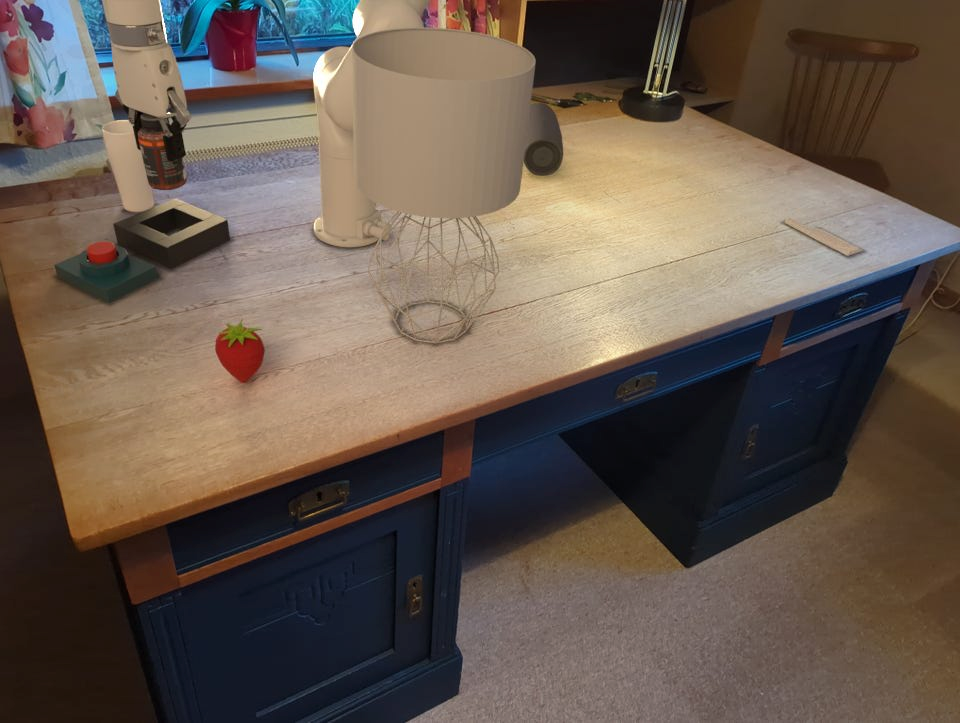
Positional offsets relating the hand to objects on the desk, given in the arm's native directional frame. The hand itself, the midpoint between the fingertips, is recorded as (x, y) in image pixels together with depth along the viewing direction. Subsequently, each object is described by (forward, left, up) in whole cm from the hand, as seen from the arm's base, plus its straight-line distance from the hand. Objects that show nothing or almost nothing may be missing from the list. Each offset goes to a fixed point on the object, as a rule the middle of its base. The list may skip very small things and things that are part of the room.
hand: (161, 152), depth 120 cm
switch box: (-1, +14, -16) cm, 22 cm away
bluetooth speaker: (-31, -75, -16) cm, 82 cm away
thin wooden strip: (-93, -80, -16) cm, 123 cm away
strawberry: (-36, +20, -16) cm, 44 cm away
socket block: (0, 0, -16) cm, 16 cm away
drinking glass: (+15, -5, -16) cm, 23 cm away
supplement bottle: (0, 0, -6) cm, 6 cm away
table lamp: (-48, -7, -16) cm, 51 cm away
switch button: (-1, +14, -13) cm, 19 cm away
